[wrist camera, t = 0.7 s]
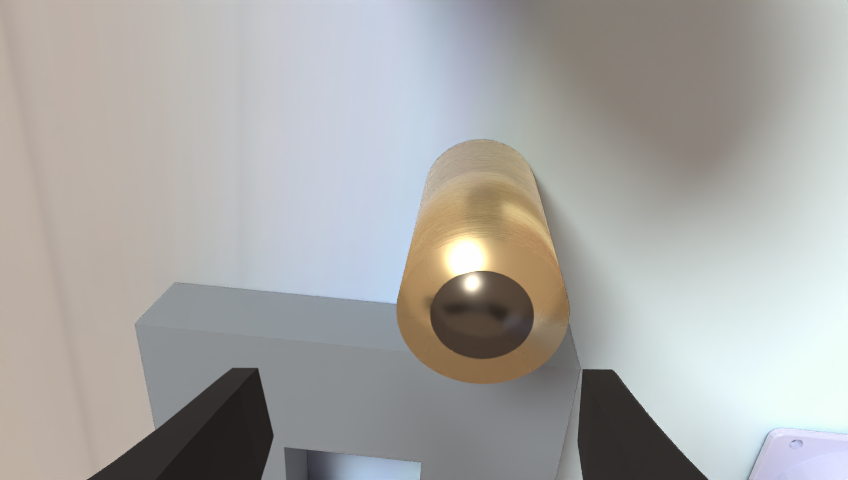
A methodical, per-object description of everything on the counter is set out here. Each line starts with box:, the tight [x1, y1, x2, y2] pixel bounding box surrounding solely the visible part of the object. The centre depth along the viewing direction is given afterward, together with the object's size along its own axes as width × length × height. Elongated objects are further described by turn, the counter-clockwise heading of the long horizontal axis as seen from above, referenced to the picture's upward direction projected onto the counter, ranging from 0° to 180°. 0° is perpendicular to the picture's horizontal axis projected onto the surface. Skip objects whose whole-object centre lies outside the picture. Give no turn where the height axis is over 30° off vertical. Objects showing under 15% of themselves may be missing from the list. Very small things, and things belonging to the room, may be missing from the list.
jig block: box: [135, 283, 581, 480], centre depth 25 cm, size 16×16×3 cm
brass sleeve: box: [396, 140, 569, 384], centre depth 17 cm, size 4×4×8 cm
